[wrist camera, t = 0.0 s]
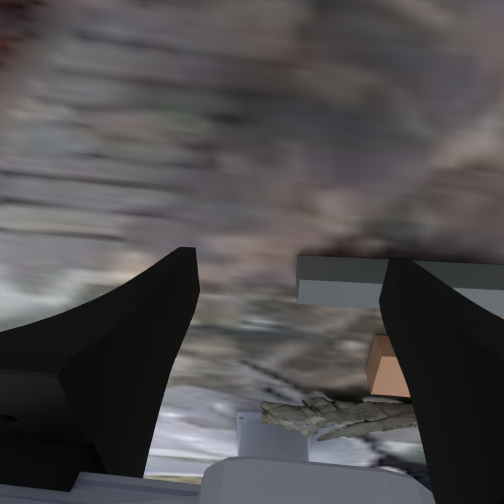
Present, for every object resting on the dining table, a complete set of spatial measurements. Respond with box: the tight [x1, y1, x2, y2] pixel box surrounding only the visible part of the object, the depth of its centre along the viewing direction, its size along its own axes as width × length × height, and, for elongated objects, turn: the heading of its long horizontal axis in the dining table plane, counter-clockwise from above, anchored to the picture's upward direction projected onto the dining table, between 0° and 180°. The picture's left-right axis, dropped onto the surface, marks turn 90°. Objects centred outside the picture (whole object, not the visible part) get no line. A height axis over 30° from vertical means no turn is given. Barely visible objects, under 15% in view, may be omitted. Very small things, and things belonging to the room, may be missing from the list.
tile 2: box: [365, 335, 410, 397], centre depth 26 cm, size 4×4×2 cm
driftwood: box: [261, 397, 418, 441], centre depth 27 cm, size 37×2×5 cm, turn 93°
